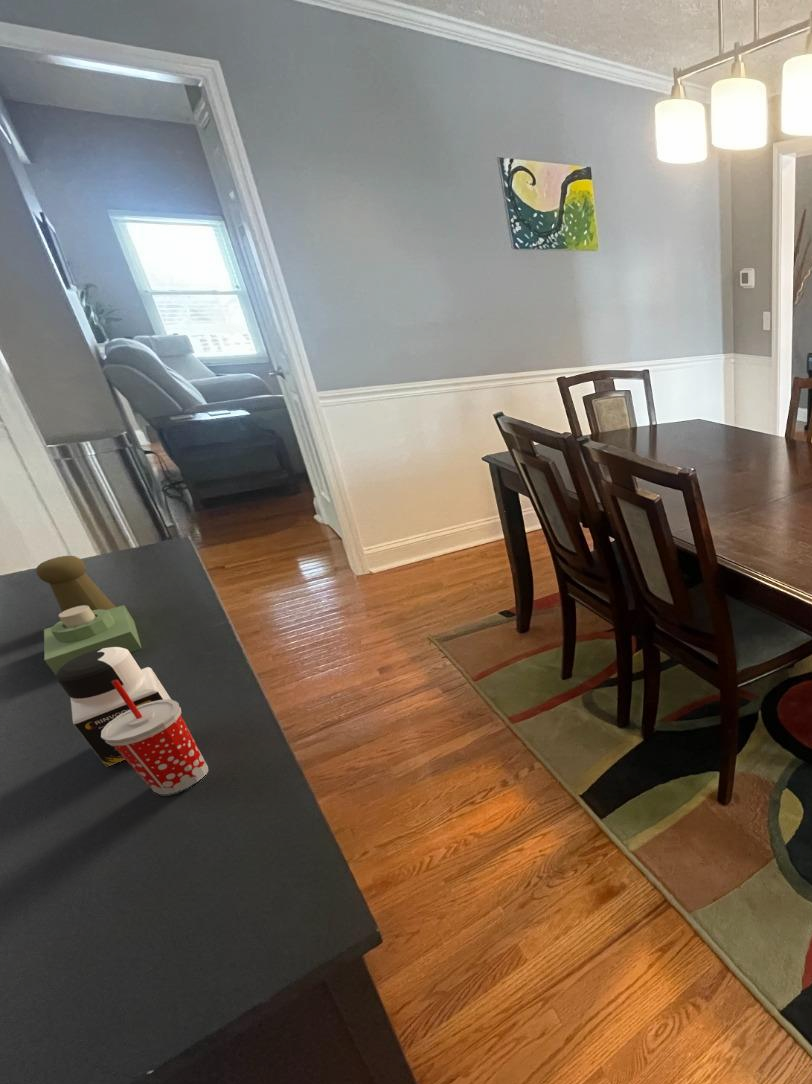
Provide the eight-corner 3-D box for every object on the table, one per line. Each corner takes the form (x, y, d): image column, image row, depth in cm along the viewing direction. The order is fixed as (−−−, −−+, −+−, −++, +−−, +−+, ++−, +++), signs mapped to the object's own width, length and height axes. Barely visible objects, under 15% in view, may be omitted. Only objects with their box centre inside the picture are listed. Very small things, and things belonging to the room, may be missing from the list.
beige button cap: (96, 621, 89) (89, 610, 88) (66, 631, 87) (58, 619, 86) (95, 614, 91) (88, 602, 90) (66, 623, 89) (58, 611, 88)
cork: (64, 621, 98) (23, 562, 93) (113, 604, 102) (77, 547, 97) (72, 632, 95) (31, 572, 90) (123, 614, 99) (85, 556, 94)
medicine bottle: (107, 769, 68) (44, 687, 63) (102, 740, 73) (43, 661, 67) (186, 734, 73) (135, 655, 67) (178, 709, 77) (128, 632, 71)
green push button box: (141, 648, 90) (124, 621, 88) (57, 678, 84) (36, 649, 82) (134, 621, 97) (117, 595, 95) (56, 646, 92) (36, 619, 89)
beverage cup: (229, 755, 69) (169, 658, 63) (195, 797, 64) (126, 696, 57) (170, 763, 69) (103, 666, 62) (131, 807, 63) (53, 705, 57)
